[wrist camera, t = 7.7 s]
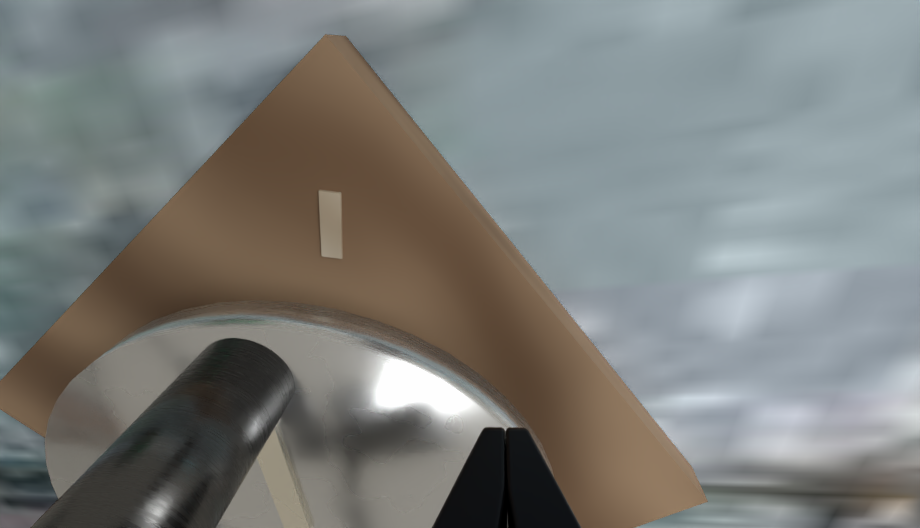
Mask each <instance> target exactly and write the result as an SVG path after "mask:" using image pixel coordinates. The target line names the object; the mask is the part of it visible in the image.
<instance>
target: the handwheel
mask: <svg viewBox="0 0 920 528" xmlns="http://www.w3.org/2000/svg"><path fill="white" fill-rule="evenodd" d="M485 427H502V428H504V430H505V431H506V429H507V428H509V427H518V428H526V429H528V431H529V432H530V434H531V436H532V438H533V439H534V441H535V443H536V445H537V447H538V449H539V450H540V452H541V454H542V456H543V458H544V460H545V461H546V463H547V465H548V467H549V469H550V471H551V473H552V474H553V471H552V467H551V464H550V462H549V460H548V458H547V455H546V453H545V451H544V449H543V446H542V444H541V442H540V441H539V439H538V438H537V436H536V434H535V433H534V431H533V430H532V428H531V427H530V425H529V424H528V422H527V421H526V419H525V418H524V417H523V416H522V415H521V414H520V412H519V411H518V410H517V409H516V408H515V407H514V406H513V405H512V403H511V402H510V401H509V400H508V399H507V398H506V397H505V396H504V395H503V394H502V393H501V392H500V391H499V390H497V389H496V388H495V387H494V386H493V385H492V384H490V383H489V382H488V381H487V380H486V379H485V378H483V377H482V376H481V375H480V374H479V373H477V372H476V371H474V370H473V369H472V368H470V367H469V366H467V365H466V364H464V363H463V362H461V361H460V360H458V359H457V358H455V357H454V356H452V355H451V354H449V353H448V352H446V351H444V350H442V349H440V348H438V347H436V346H434V345H432V344H430V343H428V342H426V341H425V340H423V339H421V338H419V337H417V336H415V335H413V334H410V333H408V332H405V331H403V330H400V329H398V328H395V327H393V326H390V325H387V324H385V323H382V322H380V321H377V320H374V319H371V318H367V317H363V316H360V315H356V314H353V313H349V312H345V311H342V310H338V309H334V308H327V307H321V306H315V305H309V304H303V303H297V302H281V301H261V300H251V301H236V302H221V303H214V304H209V305H204V306H199V307H194V308H189V309H184V310H181V311H178V312H176V313H173V314H170V315H167V316H164V317H162V318H159V319H156V320H154V321H152V322H150V323H148V324H146V325H145V326H143V327H141V328H139V329H137V330H136V331H134V332H132V333H130V334H129V335H127V336H126V337H125V338H123V339H122V340H121V341H120V342H118V343H117V344H116V345H114V346H113V347H112V348H111V349H109V350H108V351H107V352H105V353H104V354H103V355H102V356H100V357H99V358H98V359H96V360H95V361H94V362H92V363H91V364H90V365H89V366H88V367H87V368H85V369H84V370H83V371H82V372H81V373H79V374H78V375H77V376H76V377H75V378H73V379H72V380H71V382H70V383H69V384H68V386H67V387H66V388H65V390H64V391H63V392H62V394H61V395H60V396H59V397H58V399H57V401H56V403H55V405H54V408H53V410H52V412H51V415H50V417H49V419H48V424H47V430H46V437H45V454H46V465H47V468H48V472H49V476H50V479H51V483H52V486H53V488H54V490H55V492H56V495H57V497H58V500H57V501H56V502H55V503H54V504H53V505H52V506H51V507H50V508H49V509H48V510H47V511H46V512H45V513H44V514H43V515H42V516H41V517H40V518H39V519H38V520H37V522H36V523H35V524H34V525H33V526H32V527H31V528H432V526H433V524H434V522H435V520H436V518H437V516H438V514H439V513H440V511H441V509H442V507H443V505H444V503H445V501H446V499H447V497H448V495H449V493H450V491H451V489H452V487H453V485H454V483H455V481H456V479H457V477H458V475H459V474H460V472H461V470H462V468H463V466H464V464H465V462H466V460H467V458H468V456H469V454H470V452H471V450H472V448H473V446H474V444H475V442H476V440H477V438H478V436H479V435H480V433H481V431H482V429H483V428H485ZM505 444H506V442H505ZM507 526H508V521H507Z"/></svg>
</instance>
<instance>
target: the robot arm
mask: <svg viewBox="0 0 920 528" xmlns="http://www.w3.org/2000/svg"><path fill="white" fill-rule="evenodd" d="M505 442H506V444H505ZM507 521H508V526H507ZM432 528H581V526H580V524H579V522H578V520H577V519H576V517H575V515H574V513H573V511H572V509H571V508H570V506H569V504H568V502H567V500H566V498H565V496H564V495H563V493H562V491H561V489H560V487H559V485H558V484H557V482H556V480H555V478H554V476H553V474H552V473H551V471H550V469H549V467H548V465H547V463H546V461H545V460H544V458H543V456H542V454H541V452H540V450H539V449H538V447H537V445H536V443H535V441H534V439H533V438H532V436H531V434H530V432H529V431H528V429H526V428H518V427H509V428H507V429H506V431H505V430H504V428H502V427H485V428H483V429H482V431H481V433H480V435H479V436H478V438H477V440H476V442H475V444H474V446H473V448H472V450H471V452H470V454H469V456H468V458H467V460H466V462H465V464H464V466H463V468H462V470H461V472H460V474H459V475H458V477H457V479H456V481H455V483H454V485H453V487H452V489H451V491H450V493H449V495H448V497H447V499H446V501H445V503H444V505H443V507H442V509H441V511H440V513H439V514H438V516H437V518H436V520H435V522H434V524H433V526H432Z"/></svg>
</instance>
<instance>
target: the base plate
mask: <svg viewBox="0 0 920 528" xmlns="http://www.w3.org/2000/svg"><path fill="white" fill-rule="evenodd" d="M251 300H261V301H281V302H297V303H303V304H309V305H315V306H321V307H327V308H334V309H338V310H342V311H345V312H349V313H353V314H356V315H360V316H363V317H367V318H371V319H374V320H377V321H380V322H382V323H385V324H387V325H390V326H393V327H395V328H398V329H400V330H403V331H405V332H408V333H410V334H413V335H415V336H417V337H419V338H421V339H423V340H425V341H426V342H428V343H430V344H432V345H434V346H436V347H438V348H440V349H442V350H444V351H446V352H448V353H449V354H451V355H452V356H454V357H455V358H457V359H458V360H460V361H461V362H463V363H464V364H466V365H467V366H469V367H470V368H472V369H473V370H474V371H476V372H477V373H479V374H480V375H481V376H482V377H483V378H485V379H486V380H487V381H488V382H489V383H490V384H492V385H493V386H494V387H495V388H496V389H497V390H499V391H500V392H501V393H502V394H503V395H504V396H505V397H506V398H507V399H508V400H509V401H510V402H511V403H512V405H513V406H514V407H515V408H516V409H517V410H518V411H519V412H520V414H521V415H522V416H523V417H524V418H525V419H526V421H527V422H528V424H529V425H530V427H531V428H532V430H533V431H534V433H535V434H536V436H537V438H538V439H539V441H540V442H541V444H542V446H543V449H544V451H545V453H546V455H547V458H548V460H549V462H550V464H551V467H552V471H553V476H554V478H555V480H556V482H557V484H558V485H559V487H560V489H561V491H562V493H563V495H564V496H565V498H566V500H567V502H568V504H569V506H570V508H571V509H572V511H573V513H574V515H575V517H576V519H577V520H578V522H579V524H580V526H581V528H634V527H637V526H640V525H643V524H646V523H648V522H651V521H654V520H657V519H660V518H663V517H665V516H668V515H671V514H674V513H677V512H680V511H682V510H685V509H688V508H691V507H694V506H696V505H699V504H702V503H705V502H708V501H707V499H706V497H705V494H704V492H703V490H702V488H701V486H700V484H699V481H698V479H697V477H696V475H695V473H694V471H693V469H692V467H691V465H690V464H689V463H688V462H687V460H686V459H685V458H684V457H683V455H682V454H681V453H680V452H679V450H678V449H677V448H676V447H675V445H674V444H673V443H672V442H671V440H670V439H669V438H668V437H667V435H666V434H665V433H664V432H663V430H662V429H661V428H660V427H659V425H658V424H657V423H656V422H655V420H654V419H653V418H652V417H651V416H650V414H649V413H648V412H647V411H646V409H645V408H644V407H643V406H642V404H641V403H640V402H639V401H638V399H637V398H636V397H635V396H634V394H633V393H632V392H631V391H630V389H629V388H628V387H627V386H626V384H625V383H624V382H623V381H622V379H621V378H620V377H619V376H618V374H617V373H616V372H615V371H614V369H613V368H612V367H611V366H610V364H609V363H608V362H607V361H606V359H605V358H604V357H603V356H602V355H601V353H600V352H599V351H598V350H597V348H596V347H595V346H594V345H593V343H592V342H591V341H590V340H589V338H588V337H587V336H586V335H585V333H584V332H583V331H582V330H581V328H580V327H579V326H578V325H577V323H576V322H575V321H574V320H573V318H572V317H571V316H570V315H569V313H568V312H567V311H566V310H565V308H564V307H563V306H562V305H561V303H560V302H559V301H558V300H557V298H556V297H555V296H554V295H553V293H552V292H551V291H550V290H549V289H548V287H547V286H546V285H545V284H544V282H543V281H542V280H541V279H540V277H539V276H538V275H537V274H536V272H535V271H534V270H533V269H532V267H531V266H530V265H529V264H528V262H527V261H526V260H525V259H524V257H523V256H522V255H521V254H520V252H519V251H518V250H517V249H516V247H515V246H514V245H513V244H512V242H511V241H510V240H509V239H508V237H507V236H506V235H505V234H504V232H503V231H502V230H501V229H500V228H499V226H498V225H497V224H496V223H495V221H494V220H493V219H492V218H491V216H490V215H489V214H488V213H487V211H486V210H485V209H484V208H483V206H482V205H481V204H480V203H479V201H478V200H477V199H476V198H475V196H474V195H473V194H472V193H471V191H470V190H469V189H468V188H467V186H466V185H465V184H464V183H463V181H462V180H461V179H460V178H459V176H458V175H457V174H456V173H455V171H454V170H453V169H452V168H451V166H450V165H449V164H448V163H447V162H446V160H445V159H444V158H443V157H442V155H441V154H440V153H439V152H438V150H437V149H436V148H435V147H434V145H433V144H432V143H431V142H430V140H429V139H428V138H427V137H426V135H425V134H424V133H423V132H422V130H421V129H420V128H419V127H418V125H417V124H416V123H415V122H414V120H413V119H412V118H411V117H410V115H409V114H408V113H407V112H406V110H405V109H404V108H403V107H402V105H401V104H400V103H399V102H398V101H397V99H396V98H395V97H394V96H393V94H392V93H391V92H390V91H389V89H388V88H387V87H386V86H385V84H384V83H383V82H382V81H381V79H380V78H379V77H378V76H377V74H376V73H375V72H374V71H373V69H372V68H371V67H370V66H369V64H368V63H367V62H366V61H365V59H364V58H363V57H362V56H361V54H360V53H359V52H358V51H357V49H356V48H355V47H354V46H353V44H352V43H351V42H350V41H349V39H348V38H347V37H346V36H339V35H326V34H325V35H324V36H323V38H322V39H321V40H320V41H319V42H318V43H317V44H316V45H315V46H314V47H313V48H312V49H311V50H310V51H309V52H308V54H307V55H306V56H305V57H304V58H303V59H302V60H301V61H300V62H299V63H298V64H297V65H296V66H295V67H294V68H293V70H292V71H291V72H290V73H289V74H288V75H287V76H286V77H285V78H284V79H283V80H282V81H281V82H280V83H279V84H278V86H277V87H276V88H275V89H274V90H273V91H272V92H271V93H270V94H269V95H268V96H267V97H266V98H265V99H264V100H263V102H262V103H261V104H260V105H259V106H258V107H257V108H256V109H255V110H254V111H253V112H252V113H251V114H250V115H249V116H248V118H247V119H246V120H245V121H244V122H243V123H242V124H241V125H240V126H239V127H238V128H237V129H236V130H235V131H234V132H233V134H232V135H231V136H230V137H229V138H228V139H227V140H226V141H225V142H224V143H223V144H222V145H221V146H220V147H219V148H218V150H217V151H216V152H215V153H214V154H213V155H212V156H211V157H210V158H209V159H208V160H207V161H206V162H205V163H204V164H203V166H202V167H201V168H200V169H199V170H198V171H197V172H196V173H195V174H194V175H193V176H192V177H191V178H190V179H189V180H188V182H187V183H186V184H185V185H184V186H183V187H182V188H181V189H180V190H179V191H178V192H177V193H176V194H175V195H174V196H173V198H172V199H171V200H170V201H169V202H168V203H167V204H166V205H165V206H164V207H163V208H162V209H161V210H160V211H159V212H158V213H157V215H156V216H155V217H154V218H153V219H152V220H151V221H150V222H149V223H148V224H147V225H146V226H145V227H144V228H143V229H142V231H141V232H140V233H139V234H138V235H137V236H136V237H135V238H134V239H133V240H132V241H131V242H130V243H129V244H128V245H127V247H126V248H125V249H124V250H123V251H122V252H121V253H120V254H119V255H118V256H117V257H116V258H115V259H114V260H113V261H112V263H111V264H110V265H109V266H108V267H107V268H106V269H105V270H104V271H103V272H102V273H101V274H100V275H99V276H98V277H97V279H96V280H95V281H94V282H93V283H92V284H91V285H90V286H89V287H88V288H87V289H86V290H85V291H84V292H83V293H82V295H81V296H80V297H79V298H78V299H77V300H76V301H75V302H74V303H73V304H72V305H71V306H70V307H69V308H68V309H67V311H66V312H65V313H64V314H63V315H62V316H61V317H60V318H59V319H58V320H57V321H56V322H55V323H54V324H53V325H52V327H51V328H50V329H49V330H48V331H47V332H46V333H45V334H44V335H43V336H42V337H41V338H40V339H39V340H38V341H37V343H36V344H35V345H34V346H33V347H32V348H31V349H30V350H29V351H28V352H27V353H26V354H25V355H24V356H23V357H22V359H21V360H20V361H19V362H18V363H17V364H16V365H15V366H14V367H13V368H12V369H11V370H10V371H9V372H8V373H7V375H6V376H5V377H4V378H3V379H2V380H1V381H0V409H1V410H2V411H4V412H5V413H7V414H8V415H10V416H11V417H13V418H15V419H16V420H18V421H19V422H21V423H22V424H24V425H26V426H27V427H29V428H30V429H32V430H33V431H35V432H36V433H38V434H40V435H41V436H43V437H44V438H45V437H46V430H47V424H48V419H49V417H50V415H51V412H52V410H53V408H54V405H55V403H56V401H57V399H58V397H59V396H60V395H61V394H62V392H63V391H64V390H65V388H66V387H67V386H68V384H69V383H70V382H71V380H72V379H73V378H75V377H76V376H77V375H78V374H79V373H81V372H82V371H83V370H84V369H85V368H87V367H88V366H89V365H90V364H91V363H92V362H94V361H95V360H96V359H98V358H99V357H100V356H102V355H103V354H104V353H105V352H107V351H108V350H109V349H111V348H112V347H113V346H114V345H116V344H117V343H118V342H120V341H121V340H122V339H123V338H125V337H126V336H127V335H129V334H130V333H132V332H134V331H136V330H137V329H139V328H141V327H143V326H145V325H146V324H148V323H150V322H152V321H154V320H156V319H159V318H162V317H164V316H167V315H170V314H173V313H176V312H178V311H181V310H184V309H189V308H194V307H199V306H204V305H209V304H214V303H221V302H236V301H251Z"/></svg>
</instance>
